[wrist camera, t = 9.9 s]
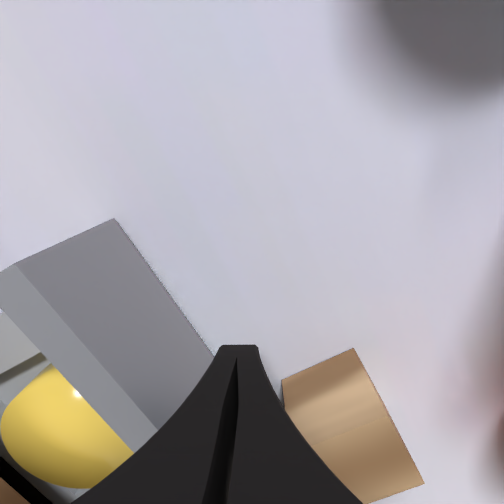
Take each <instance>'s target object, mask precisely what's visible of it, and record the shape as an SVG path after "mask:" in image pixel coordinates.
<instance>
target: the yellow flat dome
mask: <svg viewBox="0 0 504 504" xmlns="http://www.w3.org/2000/svg"><path fill="white" fill-rule="evenodd" d="M0 428H1V436H2V440H3V442H4V445H5V447H6V449H7V450H8V452H9V454H10V455H11V456H12V458H13V459H14V460H15V461H16V462H17V463H18V464H19V465H20V466H21V467H22V468H24V469H25V470H26V471H28V472H29V473H31V474H32V475H34V476H36V477H37V478H39V479H41V480H44V481H46V482H49V483H51V484H54V485H58V486H62V487H67V488H75V489H90V488H92V487H94V486H95V485H96V484H98V483H99V482H100V481H102V480H103V479H104V478H105V477H107V476H108V475H109V474H110V473H112V472H113V471H114V470H115V469H116V468H118V467H119V466H120V465H121V464H122V463H123V462H125V461H126V460H127V459H128V458H129V457H131V456H132V455H133V454H134V452H133V451H132V450H131V449H130V448H129V447H128V446H127V445H126V444H125V443H124V442H123V441H122V439H121V438H120V437H119V436H118V435H117V434H116V433H115V432H114V431H113V430H112V429H111V428H110V426H109V425H108V424H107V423H106V422H105V421H104V420H103V419H102V418H101V417H100V416H99V414H98V413H97V412H96V411H95V410H94V409H93V408H92V407H91V406H90V405H89V404H88V403H87V401H86V400H85V399H84V398H83V397H82V396H81V395H80V394H79V393H78V392H77V391H76V390H75V388H74V387H73V386H72V385H71V384H70V383H69V382H68V381H67V380H66V379H65V378H64V377H63V375H62V374H61V373H60V372H59V371H58V370H57V369H56V368H55V367H54V366H53V365H52V363H50V364H49V365H47V366H46V367H45V368H44V369H43V370H42V371H41V372H40V373H39V374H38V375H37V376H36V377H35V378H34V379H33V380H32V381H31V382H30V383H29V384H28V385H27V386H26V387H25V388H24V389H23V390H22V391H21V392H20V393H19V394H18V395H17V396H16V397H15V398H14V399H13V400H12V401H11V402H10V403H9V405H8V406H7V407H6V409H5V411H4V413H3V415H2V418H1V425H0Z"/></svg>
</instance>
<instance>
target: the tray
mask: <svg viewBox="0 0 504 504" xmlns="http://www.w3.org/2000/svg"><path fill="white" fill-rule="evenodd" d="M0 308H1V309H2V310H3V311H4V312H2V313H1V314H0V425H1V418H2V415H3V413H4V411H5V409H6V407H7V406H8V405H9V403H10V402H11V401H12V400H13V399H14V398H15V397H16V396H17V395H18V394H19V393H20V392H21V391H22V390H23V389H24V388H25V387H26V386H27V385H28V384H29V383H30V382H31V381H32V380H33V379H34V378H35V377H36V376H37V375H38V374H39V373H40V372H41V371H42V370H43V369H44V368H45V367H46V366H47V365H49V364H50V363H52V365H53V366H54V367H55V368H56V369H57V370H58V371H59V372H60V373H61V374H62V375H63V377H64V378H65V379H66V380H67V381H68V382H69V383H70V384H71V385H72V386H73V387H74V388H75V390H76V391H77V392H78V393H79V394H80V395H81V396H82V397H83V398H84V399H85V400H86V401H87V403H88V404H89V405H90V406H91V407H92V408H93V409H94V410H95V411H96V412H97V413H98V414H99V416H100V417H101V418H102V419H103V420H104V421H105V422H106V423H107V424H108V425H109V426H110V428H111V429H112V430H113V431H114V432H115V433H116V434H117V435H118V436H119V437H120V438H121V439H122V441H123V442H124V443H125V444H126V445H127V446H128V447H129V448H130V449H131V450H132V451H133V452H134V453H135V452H136V451H137V450H138V449H140V448H141V447H142V446H143V445H144V444H145V443H146V442H147V441H148V440H149V439H150V438H151V437H152V436H153V435H154V434H155V433H156V432H157V431H158V430H159V429H160V428H161V427H162V426H163V425H164V424H165V423H166V422H167V421H168V419H169V418H170V417H171V416H172V415H173V414H174V413H175V412H176V410H177V409H178V408H179V407H180V406H181V405H182V403H183V402H184V401H185V399H186V398H187V397H188V396H189V394H190V393H191V392H192V390H193V389H194V388H195V386H196V385H197V384H198V382H199V381H200V379H201V378H202V376H203V375H204V373H205V372H206V370H207V369H208V367H209V366H210V364H211V362H212V361H213V359H214V356H213V355H212V354H211V352H210V351H209V349H208V348H207V347H206V345H205V344H204V343H203V341H202V340H201V338H200V337H199V336H198V334H197V333H196V331H195V330H194V329H193V327H192V326H191V324H190V323H189V322H188V320H187V319H186V317H185V316H184V315H183V313H182V312H181V310H180V309H179V308H178V306H177V305H176V304H175V302H174V301H173V299H172V298H171V297H170V295H169V294H168V292H167V291H166V290H165V288H164V287H163V285H162V284H161V283H160V281H159V280H158V278H157V277H156V276H155V274H154V273H153V271H152V270H151V269H150V267H149V266H148V265H147V263H146V262H145V260H144V259H143V258H142V256H141V255H140V253H139V252H138V251H137V249H136V248H135V246H134V245H133V244H132V242H131V241H130V239H129V238H128V237H127V235H126V234H125V232H124V231H123V230H122V228H121V227H120V226H119V224H118V223H117V221H116V220H115V219H114V218H113V219H111V220H109V221H107V222H104V223H102V224H100V225H98V226H96V227H93V228H91V229H89V230H87V231H85V232H82V233H80V234H78V235H76V236H74V237H71V238H69V239H67V240H65V241H63V242H60V243H58V244H56V245H54V246H52V247H49V248H47V249H45V250H43V251H41V252H38V253H36V254H34V255H32V256H29V257H27V258H25V259H23V260H21V261H18V262H16V263H14V264H13V265H11V266H9V267H8V268H6V269H4V270H3V271H1V272H0ZM0 456H1V457H2V458H3V459H4V460H5V461H7V462H8V463H9V464H10V465H11V466H12V467H13V468H14V469H15V470H17V471H18V472H19V473H20V474H21V475H22V476H23V477H24V478H25V479H27V480H28V481H29V482H30V483H31V484H32V485H33V486H34V487H35V488H36V489H38V490H39V491H40V492H41V493H42V494H43V495H44V496H45V497H46V498H48V499H49V500H50V501H51V502H52V503H53V504H70V503H71V502H73V501H74V500H76V499H77V498H78V497H80V496H81V495H83V494H84V493H85V492H87V491H88V490H89V489H75V488H67V487H62V486H58V485H54V484H51V483H49V482H46V481H44V480H41V479H39V478H37V477H36V476H34V475H32V474H31V473H29V472H28V471H26V470H25V469H24V468H22V467H21V466H20V465H19V464H18V463H17V462H16V461H15V460H14V459H13V458H12V456H11V455H10V454H9V452H8V450H7V449H6V447H5V445H4V442H3V440H2V436H1V428H0ZM230 482H231V481H230ZM90 489H91V488H90Z"/></svg>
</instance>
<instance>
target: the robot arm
mask: <svg viewBox="0 0 504 504" xmlns="http://www.w3.org/2000/svg"><path fill="white" fill-rule="evenodd" d="M230 481H231V482H230ZM70 504H363V503H362V502H361V501H360V500H359V499H358V498H357V497H356V496H355V495H354V494H353V493H352V492H351V491H350V490H349V489H348V488H347V487H346V486H345V485H344V484H343V483H342V482H341V481H340V480H339V478H338V477H337V476H336V475H335V474H334V473H333V472H332V471H331V470H330V469H329V468H328V467H327V465H326V464H325V463H324V462H323V460H322V459H321V458H320V457H319V456H318V454H317V453H316V452H315V451H314V450H313V448H312V447H311V446H310V445H309V444H308V442H307V441H306V440H305V438H304V437H303V436H302V434H301V433H300V431H299V430H298V429H297V427H296V426H295V424H294V423H293V421H292V420H291V418H290V417H289V415H288V414H287V412H286V411H285V409H284V407H283V406H282V404H281V402H280V400H279V399H278V397H277V395H276V393H275V391H274V389H273V387H272V385H271V383H270V381H269V379H268V377H267V375H266V372H265V370H264V367H263V364H262V362H261V359H260V355H259V350H258V347H257V346H256V345H222V346H221V347H220V348H219V350H218V352H217V354H216V355H215V357H214V359H213V361H212V362H211V364H210V366H209V367H208V369H207V370H206V372H205V373H204V375H203V376H202V378H201V379H200V381H199V382H198V384H197V385H196V386H195V388H194V389H193V390H192V392H191V393H190V394H189V396H188V397H187V398H186V399H185V401H184V402H183V403H182V405H181V406H180V407H179V408H178V409H177V410H176V412H175V413H174V414H173V415H172V416H171V417H170V418H169V419H168V421H167V422H166V423H165V424H164V425H163V426H162V427H161V428H160V429H159V430H158V431H157V432H156V433H155V434H154V435H153V436H152V437H151V438H150V439H149V440H148V441H147V442H146V443H145V444H144V445H143V446H142V447H141V448H140V449H138V450H137V451H136V452H135V453H134V454H133V455H132V456H131V457H129V458H128V459H127V460H126V461H125V462H123V463H122V464H121V465H120V466H119V467H118V468H116V469H115V470H114V471H113V472H112V473H110V474H109V475H108V476H107V477H105V478H104V479H103V480H102V481H100V482H99V483H98V484H96V485H95V486H94V487H92V488H91V489H89V490H88V491H87V492H85V493H84V494H83V495H81V496H80V497H78V498H77V499H76V500H74V501H73V502H71V503H70Z"/></svg>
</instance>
